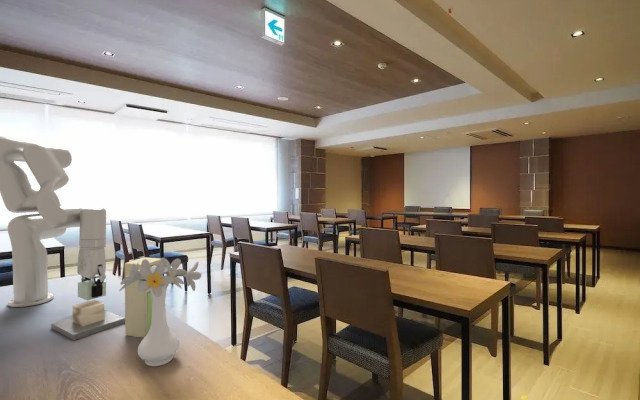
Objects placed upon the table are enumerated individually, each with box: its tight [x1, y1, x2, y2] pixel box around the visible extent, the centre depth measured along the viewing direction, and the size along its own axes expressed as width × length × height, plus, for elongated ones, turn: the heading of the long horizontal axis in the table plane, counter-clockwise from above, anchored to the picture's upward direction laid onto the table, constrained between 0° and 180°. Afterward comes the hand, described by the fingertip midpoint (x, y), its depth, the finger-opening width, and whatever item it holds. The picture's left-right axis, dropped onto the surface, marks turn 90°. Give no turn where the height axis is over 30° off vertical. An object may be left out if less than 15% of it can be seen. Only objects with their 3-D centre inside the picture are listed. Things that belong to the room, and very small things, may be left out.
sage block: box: [77, 278, 107, 301], centre depth 116 cm, size 6×6×5 cm
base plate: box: [50, 309, 125, 341], centre depth 102 cm, size 14×14×2 cm
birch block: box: [72, 299, 105, 326], centre depth 102 cm, size 6×6×5 cm
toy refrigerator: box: [123, 256, 164, 338], centre depth 98 cm, size 8×7×21 cm
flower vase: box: [118, 257, 202, 367], centre depth 83 cm, size 13×18×25 cm
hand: (92, 294), depth 116 cm, fingers closed on sage block, 6 cm apart
